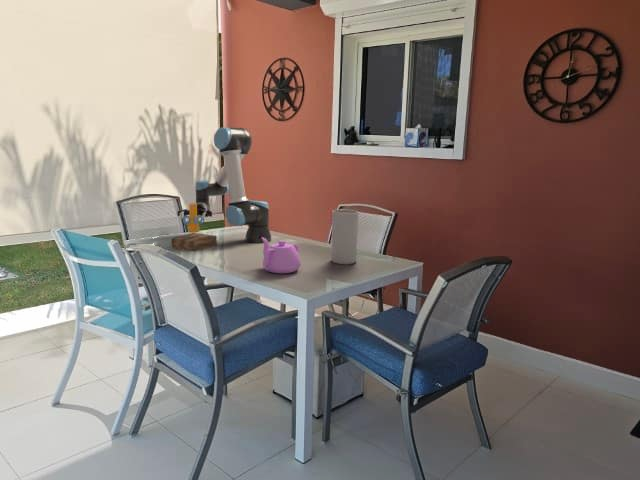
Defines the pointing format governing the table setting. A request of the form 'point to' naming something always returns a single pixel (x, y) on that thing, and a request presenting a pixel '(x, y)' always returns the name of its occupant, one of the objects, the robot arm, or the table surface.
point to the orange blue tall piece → (193, 219)
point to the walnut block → (194, 241)
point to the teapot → (281, 257)
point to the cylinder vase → (344, 236)
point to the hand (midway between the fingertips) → (191, 216)
